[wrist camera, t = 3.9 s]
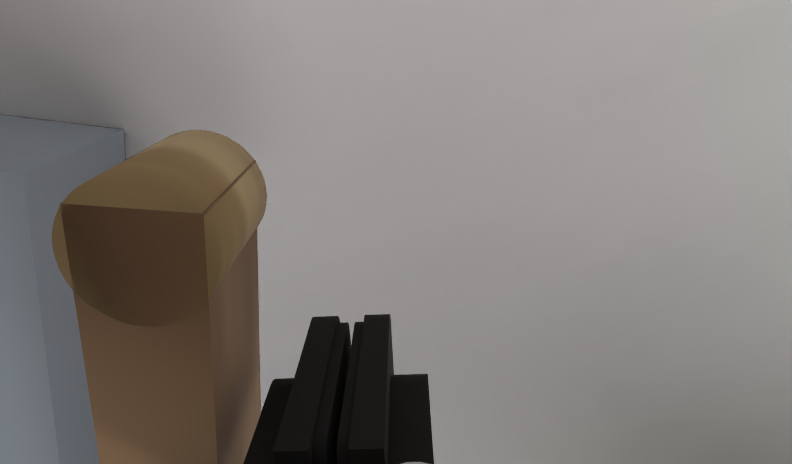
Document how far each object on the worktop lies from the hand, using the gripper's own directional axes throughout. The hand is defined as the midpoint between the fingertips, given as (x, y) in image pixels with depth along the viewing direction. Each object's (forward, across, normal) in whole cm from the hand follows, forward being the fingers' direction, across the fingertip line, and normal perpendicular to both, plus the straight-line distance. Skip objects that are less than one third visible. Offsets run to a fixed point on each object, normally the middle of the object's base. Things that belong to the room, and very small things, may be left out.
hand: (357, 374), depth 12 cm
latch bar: (0, +4, +4) cm, 5 cm away
